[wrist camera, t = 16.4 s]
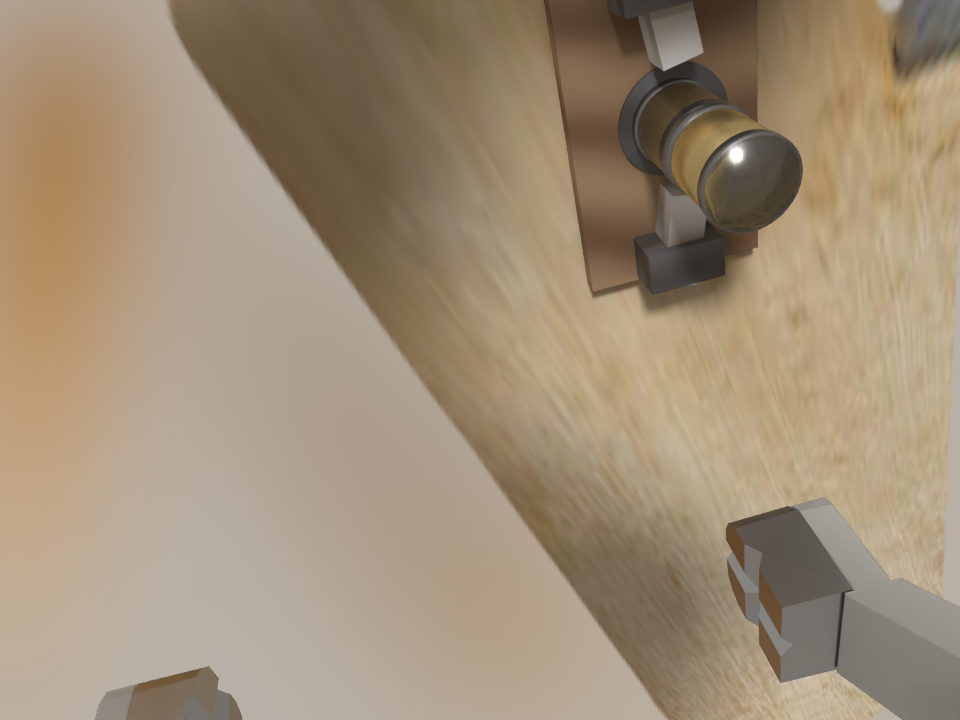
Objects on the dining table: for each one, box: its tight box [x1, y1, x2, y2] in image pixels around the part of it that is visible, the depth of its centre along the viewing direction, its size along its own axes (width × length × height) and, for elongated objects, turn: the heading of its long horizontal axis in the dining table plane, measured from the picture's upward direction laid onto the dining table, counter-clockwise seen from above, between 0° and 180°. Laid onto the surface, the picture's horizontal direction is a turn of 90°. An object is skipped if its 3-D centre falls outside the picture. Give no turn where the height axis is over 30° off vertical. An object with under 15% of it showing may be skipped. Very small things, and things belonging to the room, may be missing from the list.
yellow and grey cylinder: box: [632, 78, 803, 233], centre depth 39 cm, size 5×5×10 cm
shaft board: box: [544, 0, 758, 295], centre depth 43 cm, size 20×11×4 cm, turn 12°
